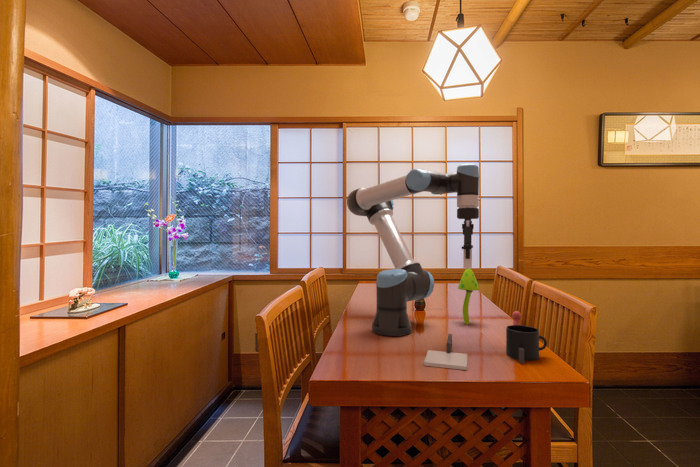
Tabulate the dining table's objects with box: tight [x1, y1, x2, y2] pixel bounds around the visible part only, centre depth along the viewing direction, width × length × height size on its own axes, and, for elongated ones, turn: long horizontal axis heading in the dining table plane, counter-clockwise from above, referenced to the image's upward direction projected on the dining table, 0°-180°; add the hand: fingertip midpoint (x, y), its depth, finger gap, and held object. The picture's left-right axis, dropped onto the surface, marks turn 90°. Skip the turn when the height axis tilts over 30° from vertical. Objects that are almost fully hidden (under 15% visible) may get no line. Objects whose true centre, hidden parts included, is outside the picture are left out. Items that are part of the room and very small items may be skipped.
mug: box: [505, 324, 548, 362], centre depth 118 cm, size 9×12×9 cm
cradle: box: [446, 310, 525, 365], centre depth 121 cm, size 23×15×13 cm, turn 72°
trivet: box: [423, 349, 468, 371], centre depth 113 cm, size 12×12×1 cm
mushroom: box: [457, 269, 480, 325], centre depth 155 cm, size 8×8×25 cm
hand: (467, 267), depth 134 cm, fingers open, 13 cm apart
